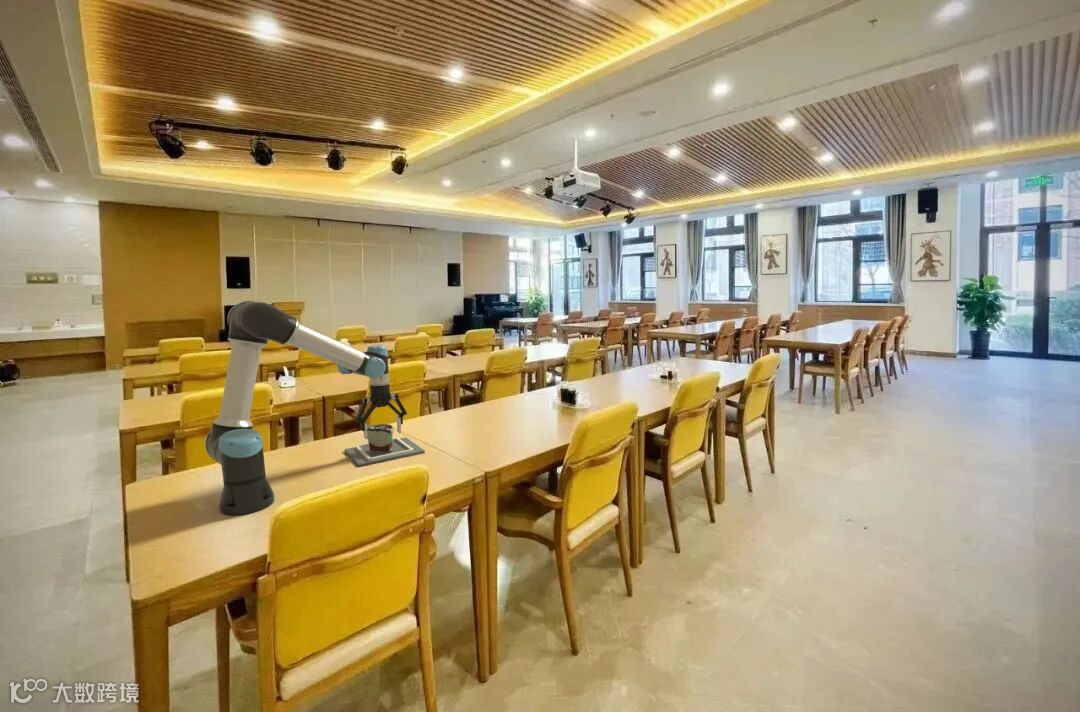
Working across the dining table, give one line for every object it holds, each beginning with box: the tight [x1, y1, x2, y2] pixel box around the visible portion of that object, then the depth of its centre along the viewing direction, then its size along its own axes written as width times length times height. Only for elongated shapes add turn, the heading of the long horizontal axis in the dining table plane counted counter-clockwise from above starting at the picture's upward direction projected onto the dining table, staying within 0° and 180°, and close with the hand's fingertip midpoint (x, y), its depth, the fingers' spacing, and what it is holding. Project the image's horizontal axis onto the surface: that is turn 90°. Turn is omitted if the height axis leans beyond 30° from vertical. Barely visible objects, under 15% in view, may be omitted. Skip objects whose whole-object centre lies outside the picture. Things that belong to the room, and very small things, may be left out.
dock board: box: [344, 436, 426, 468], centre depth 214 cm, size 26×22×2 cm
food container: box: [367, 423, 395, 453], centre depth 213 cm, size 12×6×10 cm, turn 72°
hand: (382, 435), depth 213 cm, fingers open, 13 cm apart
